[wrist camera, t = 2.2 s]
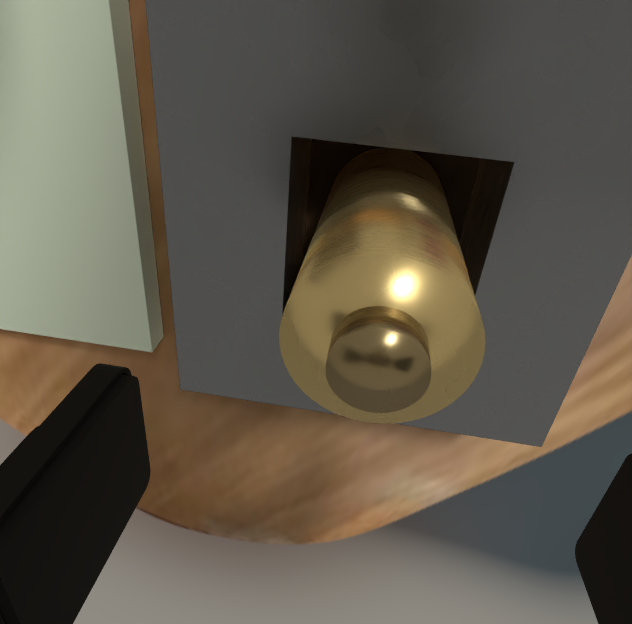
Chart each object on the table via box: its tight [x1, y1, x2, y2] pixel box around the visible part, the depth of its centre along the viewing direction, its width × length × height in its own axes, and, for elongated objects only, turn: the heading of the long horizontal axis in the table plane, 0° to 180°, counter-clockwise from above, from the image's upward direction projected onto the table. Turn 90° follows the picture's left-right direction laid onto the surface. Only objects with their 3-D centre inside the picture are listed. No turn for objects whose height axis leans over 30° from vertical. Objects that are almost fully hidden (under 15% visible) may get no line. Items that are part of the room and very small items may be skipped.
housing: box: [145, 0, 632, 447], centre depth 19 cm, size 16×16×5 cm
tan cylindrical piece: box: [279, 147, 485, 424], centre depth 16 cm, size 5×5×12 cm
